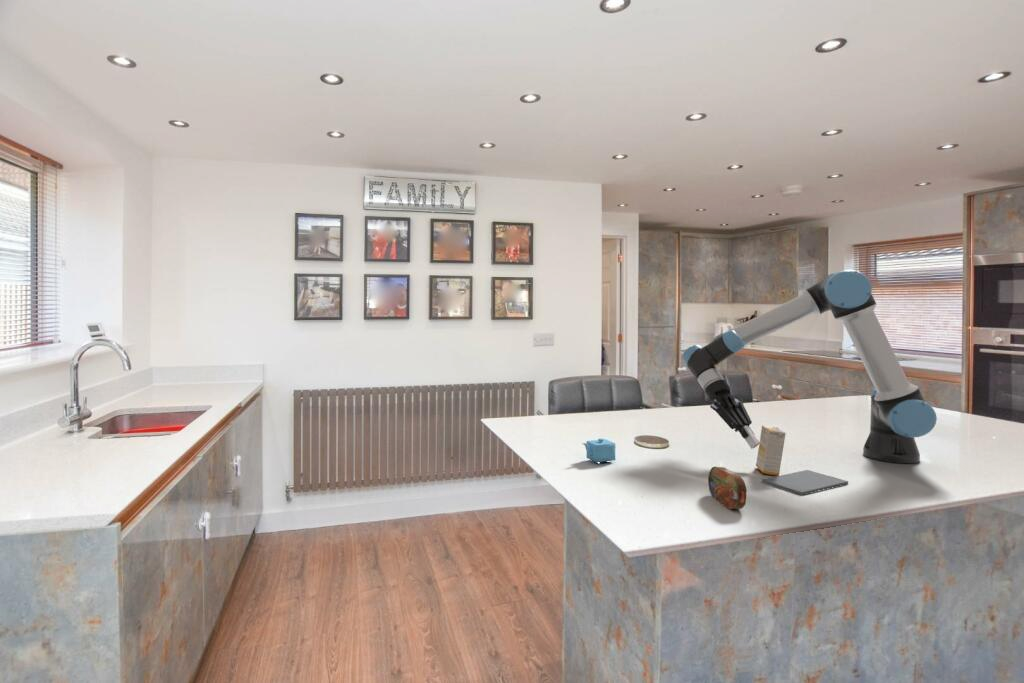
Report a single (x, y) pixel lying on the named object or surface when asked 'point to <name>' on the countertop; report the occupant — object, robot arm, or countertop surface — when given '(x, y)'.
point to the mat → (804, 482)
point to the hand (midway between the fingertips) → (755, 445)
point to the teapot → (600, 450)
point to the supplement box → (770, 450)
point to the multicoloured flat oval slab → (727, 487)
